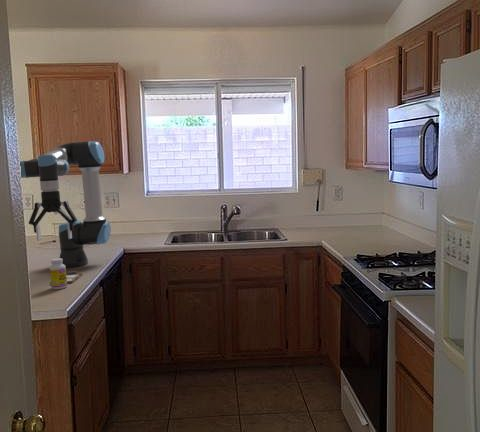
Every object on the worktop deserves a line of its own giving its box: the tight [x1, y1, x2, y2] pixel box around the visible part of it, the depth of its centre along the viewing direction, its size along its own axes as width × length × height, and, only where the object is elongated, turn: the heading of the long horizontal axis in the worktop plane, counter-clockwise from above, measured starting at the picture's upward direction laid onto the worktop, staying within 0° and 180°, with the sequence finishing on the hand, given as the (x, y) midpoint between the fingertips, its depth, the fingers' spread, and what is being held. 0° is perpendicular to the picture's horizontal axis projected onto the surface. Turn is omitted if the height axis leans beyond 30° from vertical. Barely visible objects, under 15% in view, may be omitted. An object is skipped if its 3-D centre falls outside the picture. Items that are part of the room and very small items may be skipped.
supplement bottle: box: [49, 257, 68, 290], centre depth 228 cm, size 7×7×13 cm
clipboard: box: [49, 270, 83, 286], centre depth 243 cm, size 16×10×2 cm, turn 1°
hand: (54, 239), depth 226 cm, fingers open, 13 cm apart
